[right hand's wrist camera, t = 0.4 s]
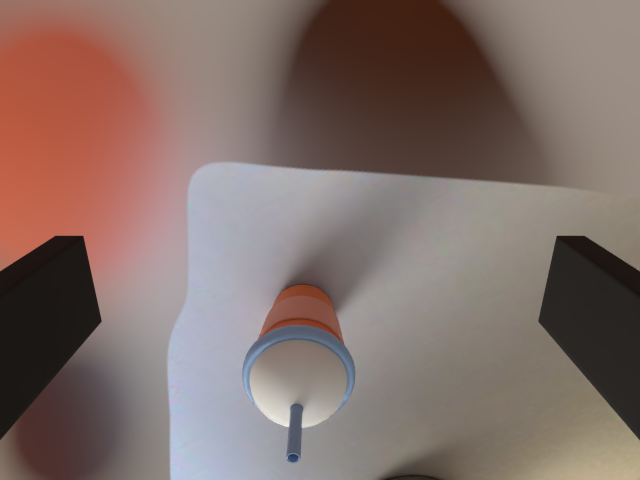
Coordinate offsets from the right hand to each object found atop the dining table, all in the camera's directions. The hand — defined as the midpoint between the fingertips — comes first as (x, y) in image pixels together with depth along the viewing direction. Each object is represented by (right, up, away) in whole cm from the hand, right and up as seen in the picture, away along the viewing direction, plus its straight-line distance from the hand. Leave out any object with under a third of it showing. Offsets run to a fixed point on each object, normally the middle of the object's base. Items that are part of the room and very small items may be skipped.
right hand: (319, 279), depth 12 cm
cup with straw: (-2, -6, +32) cm, 33 cm away
